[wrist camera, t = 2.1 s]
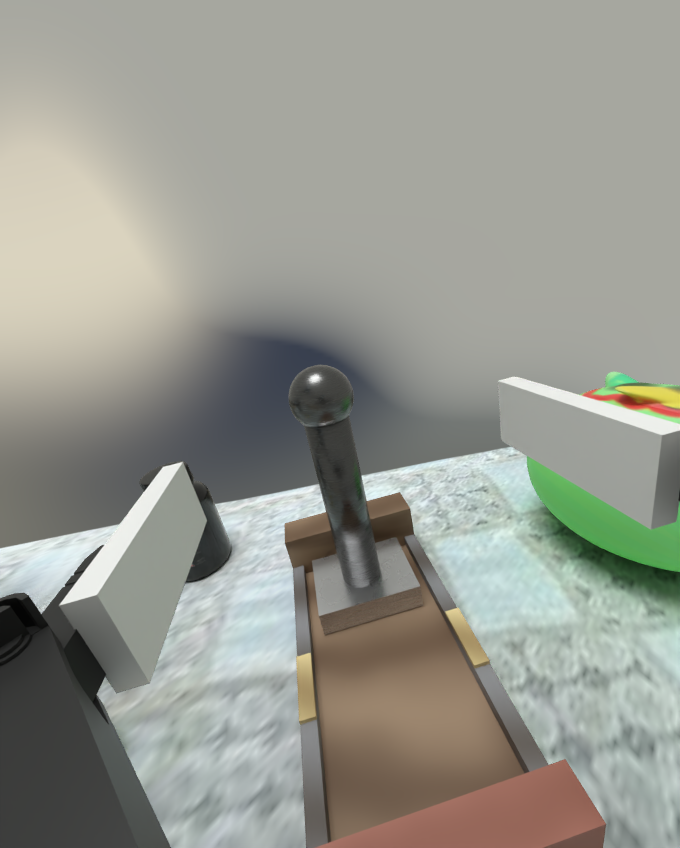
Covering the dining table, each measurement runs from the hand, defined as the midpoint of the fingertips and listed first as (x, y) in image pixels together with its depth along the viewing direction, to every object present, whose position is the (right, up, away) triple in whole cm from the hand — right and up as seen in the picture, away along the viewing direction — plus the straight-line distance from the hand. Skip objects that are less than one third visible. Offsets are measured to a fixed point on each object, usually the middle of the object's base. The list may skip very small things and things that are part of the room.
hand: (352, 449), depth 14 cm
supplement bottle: (-16, -15, +26) cm, 34 cm away
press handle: (+2, -13, +16) cm, 20 cm away
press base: (+3, -16, +11) cm, 20 cm away
